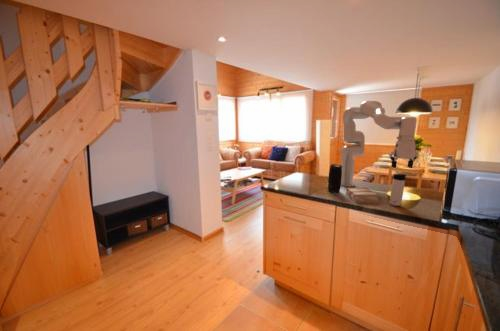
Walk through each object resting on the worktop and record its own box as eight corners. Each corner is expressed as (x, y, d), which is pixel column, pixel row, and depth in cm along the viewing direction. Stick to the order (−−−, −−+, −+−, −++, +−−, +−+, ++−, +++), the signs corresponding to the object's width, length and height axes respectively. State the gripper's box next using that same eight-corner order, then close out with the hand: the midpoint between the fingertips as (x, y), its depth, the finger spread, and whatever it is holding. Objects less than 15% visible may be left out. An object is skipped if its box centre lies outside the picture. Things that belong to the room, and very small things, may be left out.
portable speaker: (332, 194, 158) (335, 166, 154) (324, 189, 167) (326, 164, 163) (343, 193, 161) (345, 166, 156) (334, 188, 170) (337, 163, 165)
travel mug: (395, 207, 136) (401, 175, 132) (386, 203, 142) (391, 172, 138) (403, 206, 138) (409, 174, 133) (394, 202, 144) (399, 172, 140)
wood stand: (345, 194, 157) (346, 187, 156) (365, 194, 157) (366, 188, 156) (355, 202, 144) (356, 194, 142) (377, 202, 144) (378, 195, 143)
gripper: (395, 139, 127) (391, 168, 131) (425, 139, 127) (420, 168, 131) (387, 138, 134) (383, 166, 138) (415, 138, 135) (411, 166, 138)
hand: (401, 167), depth 134 cm, fingers open, 9 cm apart
